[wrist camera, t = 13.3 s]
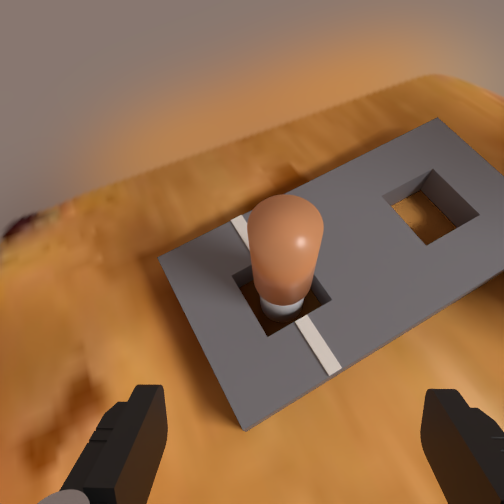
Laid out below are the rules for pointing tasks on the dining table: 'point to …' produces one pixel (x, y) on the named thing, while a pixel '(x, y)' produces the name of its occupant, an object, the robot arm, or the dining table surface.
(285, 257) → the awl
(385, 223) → the grey peg board
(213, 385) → the dining table surface
